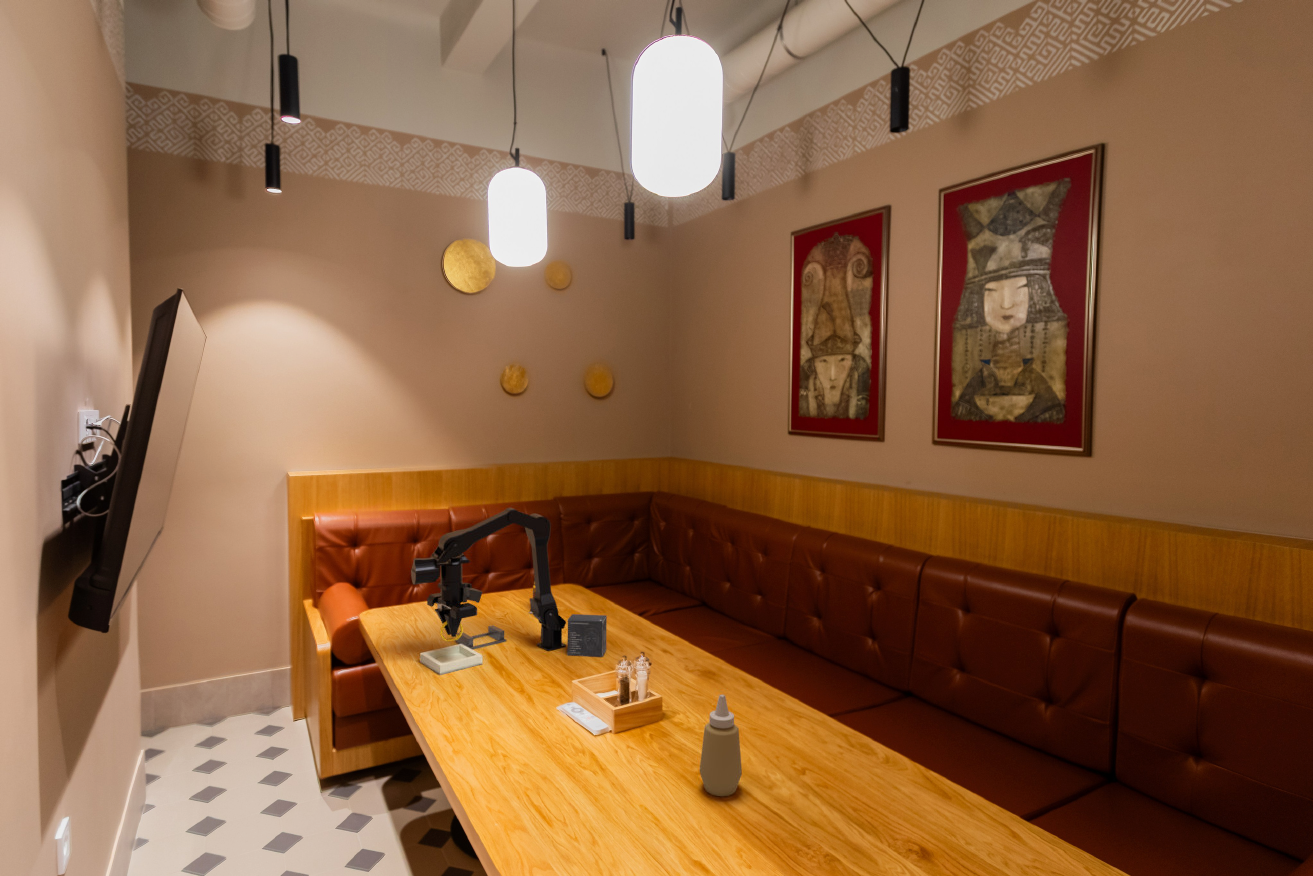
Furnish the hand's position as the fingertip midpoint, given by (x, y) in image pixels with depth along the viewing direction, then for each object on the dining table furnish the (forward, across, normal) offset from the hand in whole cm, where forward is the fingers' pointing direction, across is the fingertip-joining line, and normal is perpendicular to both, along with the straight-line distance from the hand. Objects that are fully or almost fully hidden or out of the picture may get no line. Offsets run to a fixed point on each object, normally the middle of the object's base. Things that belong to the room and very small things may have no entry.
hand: (451, 635), depth 199 cm
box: (+8, -17, -34) cm, 39 cm away
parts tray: (+8, 0, 0) cm, 8 cm away
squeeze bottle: (+8, -93, -9) cm, 94 cm away
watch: (+1, 0, 0) cm, 1 cm away
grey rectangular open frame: (+8, +11, -15) cm, 20 cm away
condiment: (+8, +26, -47) cm, 54 cm away
